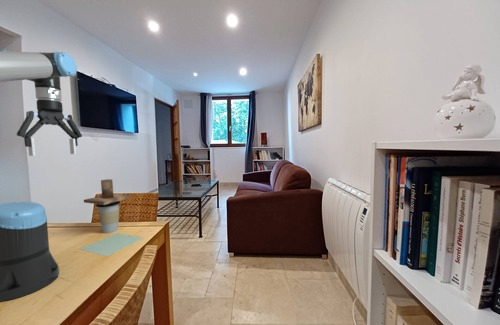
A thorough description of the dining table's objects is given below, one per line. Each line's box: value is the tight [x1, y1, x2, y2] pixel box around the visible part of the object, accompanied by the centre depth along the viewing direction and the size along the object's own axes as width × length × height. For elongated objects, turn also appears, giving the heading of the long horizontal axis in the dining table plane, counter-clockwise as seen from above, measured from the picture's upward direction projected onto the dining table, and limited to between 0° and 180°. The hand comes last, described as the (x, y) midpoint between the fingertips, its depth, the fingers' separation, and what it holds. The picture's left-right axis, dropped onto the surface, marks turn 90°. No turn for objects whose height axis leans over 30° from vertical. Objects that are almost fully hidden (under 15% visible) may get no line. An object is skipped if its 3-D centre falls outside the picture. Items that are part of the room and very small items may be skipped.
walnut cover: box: [83, 178, 132, 205], centre depth 102 cm, size 13×13×9 cm
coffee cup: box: [95, 201, 121, 234], centre depth 103 cm, size 9×9×15 cm
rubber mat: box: [79, 233, 145, 257], centre depth 90 cm, size 16×16×1 cm
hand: (54, 154), depth 89 cm, fingers open, 13 cm apart
